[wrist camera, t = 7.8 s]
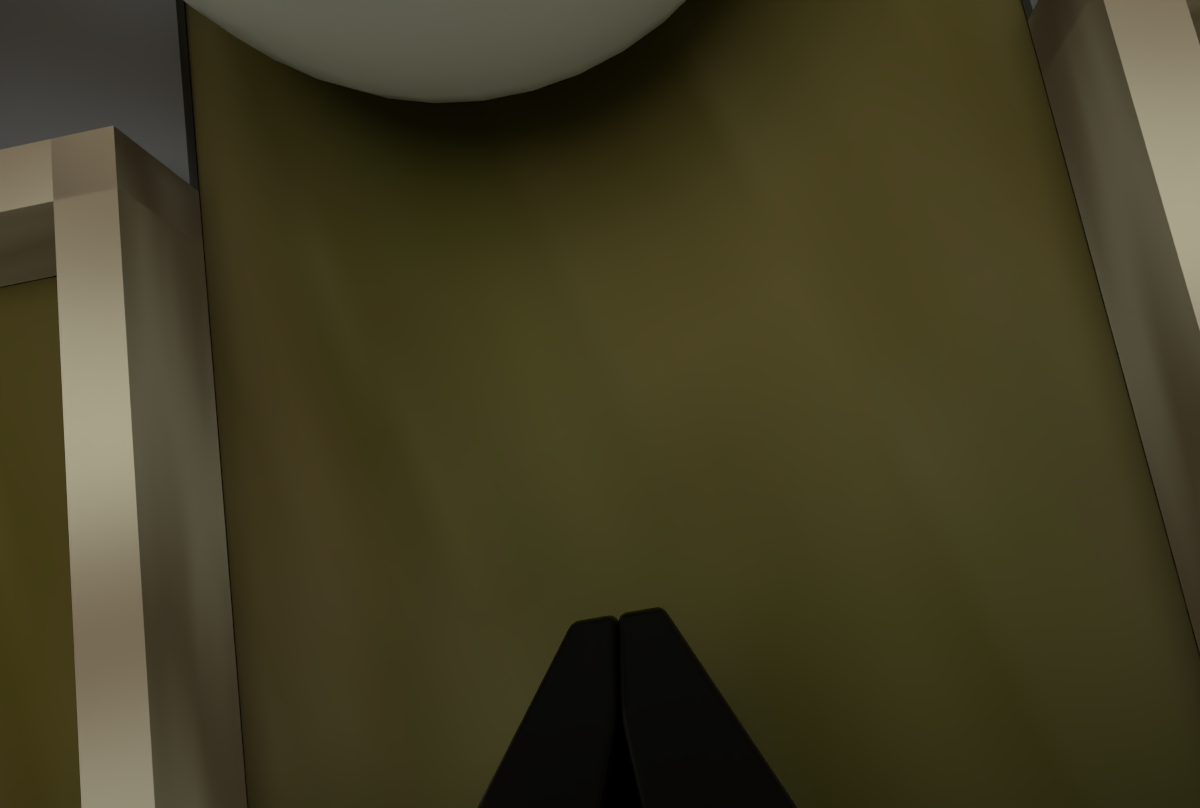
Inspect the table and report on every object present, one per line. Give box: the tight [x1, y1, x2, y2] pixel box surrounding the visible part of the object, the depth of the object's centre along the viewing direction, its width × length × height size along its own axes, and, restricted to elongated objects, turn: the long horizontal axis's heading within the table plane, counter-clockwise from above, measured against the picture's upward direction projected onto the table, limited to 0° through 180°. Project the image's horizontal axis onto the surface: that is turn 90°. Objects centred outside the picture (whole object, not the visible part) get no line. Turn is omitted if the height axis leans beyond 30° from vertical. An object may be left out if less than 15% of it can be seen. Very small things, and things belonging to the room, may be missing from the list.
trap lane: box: [0, 0, 1200, 808], centre depth 15 cm, size 28×25×4 cm
